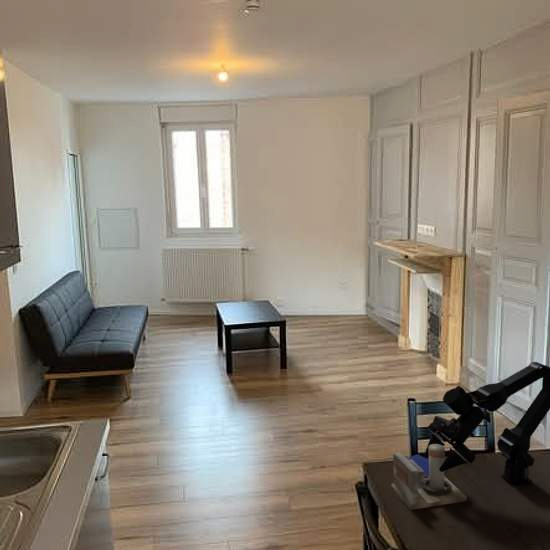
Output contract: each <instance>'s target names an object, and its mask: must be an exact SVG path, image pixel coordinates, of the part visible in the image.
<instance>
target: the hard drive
mask: <svg viewBox="0 0 550 550" xmlns="http://www.w3.org/2000/svg"><path fill="white" fill-rule="evenodd" d="M406 459H407V460H410V459H412V460H413V461H414V462H415V463H416V464H417V465H418V466H419V467H420V468H421V469H422V470H423V471H424V477H425V476H426V477H425V478H427V477H428V478H429V458H425V457H424V456H422V455H420V454H415V455H412V456H409V457H407V458H406ZM447 471H448V470H446V471H444V473H445V472H447Z"/></svg>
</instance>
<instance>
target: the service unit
mask: <svg viewBox="0 0 550 550" xmlns="http://www.w3.org/2000/svg"><path fill="white" fill-rule="evenodd" d="M392 455H393V456H392V457H393V462H392V463H393V483H391V487H392V488H393V489H392V488H391V489H392V490H393V491H394V492H395V493H396V495H397V496H398V497H399V499H401V501H402V502H403V503H404V504H405V506H407V507H408V509H409V510H411V511H412V510H419V509H425V508H431V507H435V506H436V507H437V506H445V505H449V504H456V503H462V502H466V501H467V496H466V494H464V493H463V492H462V491H461V490H460V489H459V488H457V486H455V484H453V482H451V481H450V480H449V479H448V478H447V477H446V476H445V475H444V490H441V491H436V490H432V489H429V478H427V477H425V476H424V471H423V470H422V469H421V468H420V467H419V466H418V465H417V464H416V463H415V462H414V461H413V460H412V459H410V460H407V458H406V457H405V456H404V455H403V454H402V453H401V452H393V454H392ZM467 502H468V501H467Z"/></svg>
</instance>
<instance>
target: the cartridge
mask: <svg viewBox="0 0 550 550" xmlns="http://www.w3.org/2000/svg"><path fill="white" fill-rule="evenodd" d="M445 453H446V451H445V445H444V446H442V445H439V444H432V445H429V447H428V454H429V457H428V460H429V489H432V490H436V491H441V490H444V476H445V472H444V471H443V472H441V471H439V468H440V467H441V465H442V464H443V462H444V461H445V456H446V454H445Z"/></svg>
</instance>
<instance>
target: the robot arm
mask: <svg viewBox="0 0 550 550" xmlns="http://www.w3.org/2000/svg"><path fill="white" fill-rule="evenodd" d="M540 379H541V380H542V381H541V390H539V392H538V394H537V395H536V396H535V398H534V400H533V401H532V402H531V404H530V405H529V407H528V408H527V410H526V411H525V413H523V414H524V415H522V417H521V419H520V420H519V422H518V423H517V424H516V426H514V427H513V428H510V429H509V428H508V427H505V428H504V429H503V431H502V433H501V434H500V435H499V436H498V437H497V438H498V441H497V443H496V445H497V449H498V451H499V452H500V453H501V456H502V457H504V458H506V460H505V461H504V462H505V465H504V471H503V472H504V474H502V475H501V476H500V477H501V478H502V479H504V480H505V481H507V482H509V483H510V484H511V485H513V486H515V487H519V486H523V485H526V484H531V483H533V479H531V478H529V470H530V467H533V466H534V463H535V458H534V457H533V456H531V455H530V454H529V450H530V448H531V439H532V436H533V434H534V433H535V432H536V430H537V428H538V427H539V425H540V424H541V423H542V421H543V420H544V418H545V417H546V415H547V414H549V413H548V412H549V411H550V366H548V365H546V364H542V363H540V362H537V361H532V362H530V363H529V364H528V366H525V367H524V368H522V369H520V370H519V371H516V372H515V373H513V374H511V375H510V376H508V377H506V378H504V379H502V380H501V381H499V382H497V383H496V382H495V383H488V384H485V385H482V386H480V387H478V388H477V389H476V390H473V391H470V392H466V390H465V389H464V388H463V387H462V386H460V385H457V386H456V387H455V388H451V389H449V390H447V391H446V392H445V393H444V395H443V397H442V402H443V403H444V405H446V406H447V407H448V408H449V409H450V410H452V412H453V413H455V415H456V416H458V417H457V418H455V417H452V418H451V419H450V420H449V419H446V418H443V417H440V416H438V415H435V416H434V418H433V421H432V422H431V423H430V424H429V425H428V426H427V429H429V430H427V432H428V433H429V434H428V435H429V441H428V444H427V446H426V449H425V451H424V454H423V457H424V458H426V459H429V454H428V447H429V445H432V444H439V445H442V446H444V447H445V446H446V444H445V443H448V444H449V446H451V447H449V453H448V455H447V457H446V458H445V459H444V462H443V464H442V465H441V467H440V468H439V471H441V472H443V471H446V470H447V471H448V470H450V469H453V468H455V467H458V466H461V465H465V464H466V465H468V464H471V465H472V464H473V463H474V462H475V461H476V459H477V458H476V456H477V455H476V454H475V453H474V452H473V451H472V450H471V449H470V448H469V447H467V446H466V444H465V442H467V440H468V439H469V438H470V437H471V438H474V437H475V434H474V432H475V430H476V429H477V428H478V427H479V426H480V425H481V423H482V422H483V421H485V422H486V423H492V422H491V413H492V412H496V411H498V410H500V408H501V407H503V406H504V405H505V404H506V403H507V401H508V399H509V398H510V397H511V396H512V395H514V394H516V393H518V392H520V391H521V390H523V389H526V388H527V387H528V386H530V385H532V384H534V383H535V382H537V381H539V380H540ZM483 409H484V410H483ZM490 412H491V413H490ZM447 471H446V472H447Z"/></svg>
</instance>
